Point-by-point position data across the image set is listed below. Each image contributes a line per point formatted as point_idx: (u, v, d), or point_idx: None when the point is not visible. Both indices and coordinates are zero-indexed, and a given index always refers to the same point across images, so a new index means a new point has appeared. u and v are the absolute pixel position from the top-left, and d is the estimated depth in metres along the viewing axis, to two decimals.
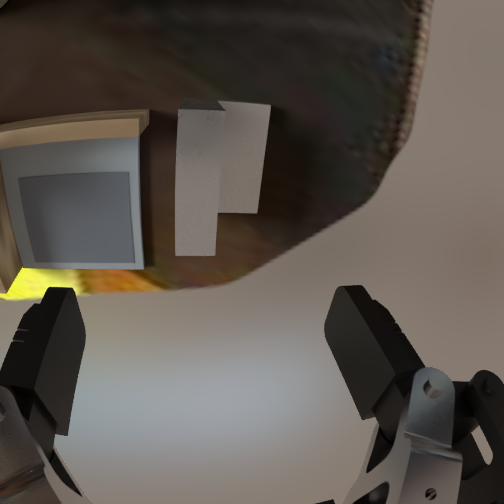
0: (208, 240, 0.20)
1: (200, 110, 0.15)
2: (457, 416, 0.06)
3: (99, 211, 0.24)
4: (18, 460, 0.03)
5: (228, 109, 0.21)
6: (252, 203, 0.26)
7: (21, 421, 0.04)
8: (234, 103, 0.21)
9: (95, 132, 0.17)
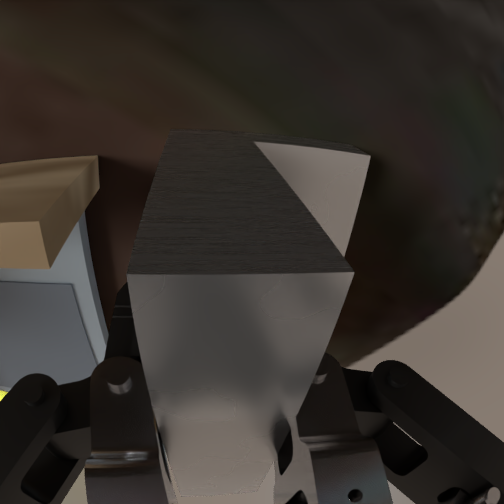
0: (247, 484, 0.08)
1: (237, 274, 0.03)
2: None
3: (39, 338, 0.12)
4: (129, 437, 0.04)
5: (279, 163, 0.09)
6: None
7: (148, 401, 0.05)
8: (294, 149, 0.09)
9: None
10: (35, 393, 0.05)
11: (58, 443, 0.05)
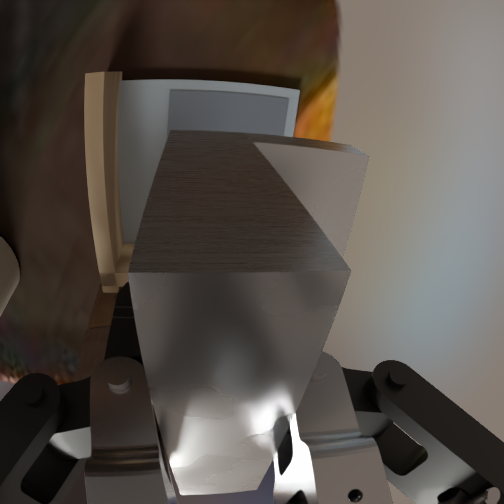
0: (246, 482, 0.08)
1: (236, 273, 0.03)
2: None
3: (214, 128, 0.21)
4: (129, 437, 0.04)
5: (279, 163, 0.10)
6: None
7: (148, 401, 0.05)
8: (293, 149, 0.09)
9: (96, 119, 0.16)
10: (35, 393, 0.05)
11: (58, 443, 0.05)
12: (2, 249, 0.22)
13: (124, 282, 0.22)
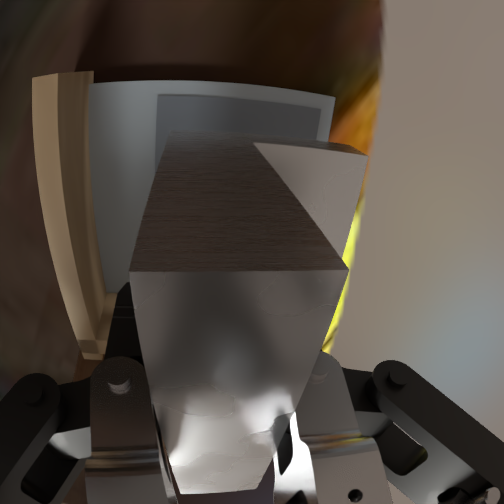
0: (245, 481, 0.08)
1: (235, 271, 0.03)
2: None
3: None
4: (129, 437, 0.04)
5: (278, 163, 0.10)
6: None
7: (148, 401, 0.05)
8: (293, 149, 0.09)
9: (50, 144, 0.10)
10: (35, 393, 0.05)
11: (58, 443, 0.05)
12: None
13: None
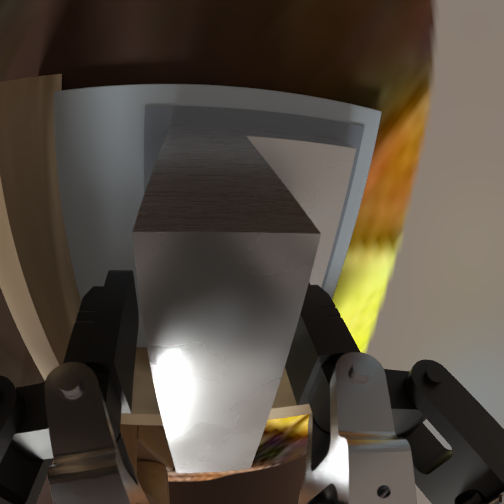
0: (240, 459, 0.08)
1: (222, 233, 0.04)
2: (390, 407, 0.06)
3: None
4: (86, 441, 0.04)
5: (270, 155, 0.10)
6: None
7: (100, 404, 0.05)
8: (284, 142, 0.10)
9: None
10: None
11: (21, 442, 0.04)
12: None
13: None
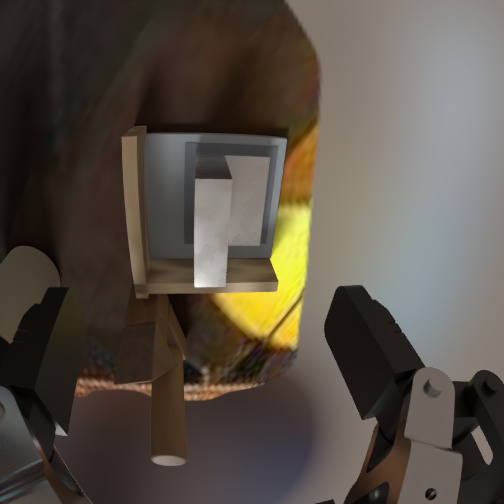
0: (220, 275, 0.25)
1: (212, 179, 0.21)
2: (457, 416, 0.06)
3: None
4: (18, 460, 0.03)
5: (234, 162, 0.27)
6: (255, 237, 0.31)
7: (21, 421, 0.04)
8: (239, 157, 0.27)
9: (132, 171, 0.23)
10: None
11: None
12: (46, 264, 0.30)
13: (153, 290, 0.30)
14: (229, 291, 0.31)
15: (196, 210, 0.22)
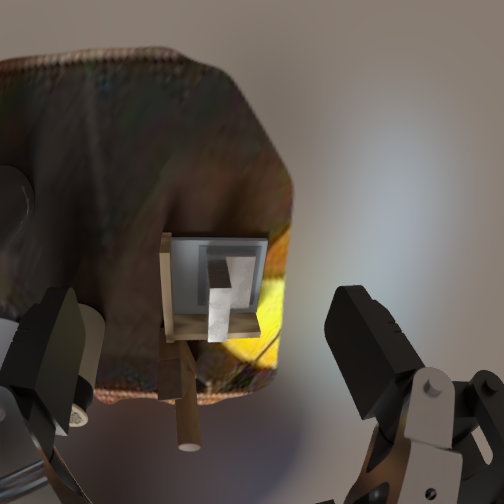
0: (224, 335, 0.40)
1: (220, 288, 0.36)
2: (457, 416, 0.06)
3: None
4: (18, 460, 0.03)
5: (232, 260, 0.42)
6: (245, 303, 0.46)
7: (21, 421, 0.04)
8: (235, 257, 0.42)
9: (167, 273, 0.38)
10: None
11: None
12: (97, 317, 0.44)
13: (178, 338, 0.44)
14: (228, 338, 0.46)
15: (210, 303, 0.37)
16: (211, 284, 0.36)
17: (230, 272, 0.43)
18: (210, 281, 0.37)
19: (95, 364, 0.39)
